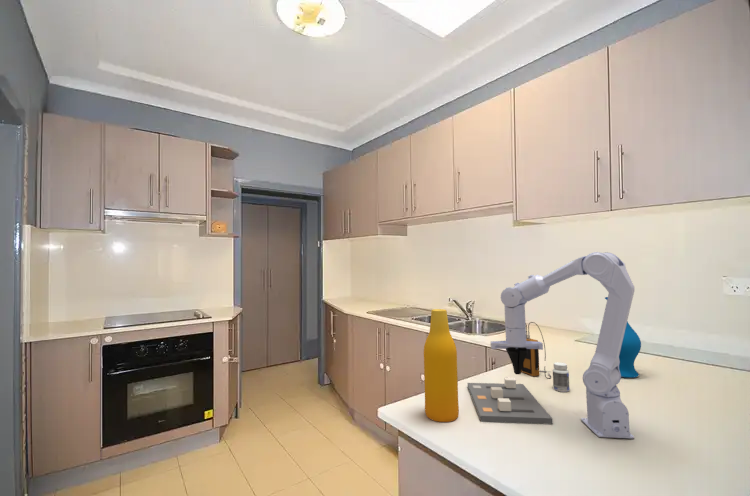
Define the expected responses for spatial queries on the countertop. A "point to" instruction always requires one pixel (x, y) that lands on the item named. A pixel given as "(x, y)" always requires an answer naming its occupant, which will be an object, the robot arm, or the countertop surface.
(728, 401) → the countertop surface
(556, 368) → the pill bottle
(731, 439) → the countertop surface
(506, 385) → the block
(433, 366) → the beer bottle
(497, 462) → the countertop surface
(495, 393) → the middle tab
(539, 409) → the switch board
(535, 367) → the multimeter
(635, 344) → the vase
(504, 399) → the white block
